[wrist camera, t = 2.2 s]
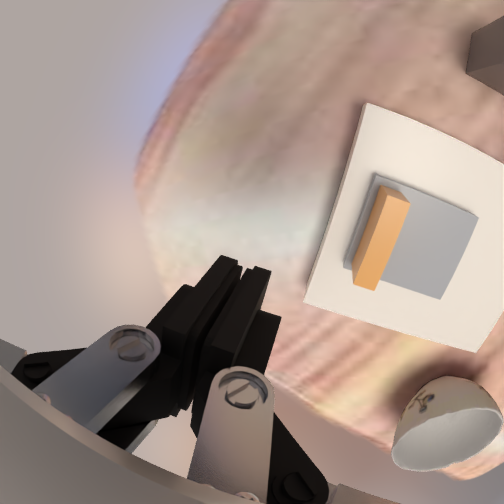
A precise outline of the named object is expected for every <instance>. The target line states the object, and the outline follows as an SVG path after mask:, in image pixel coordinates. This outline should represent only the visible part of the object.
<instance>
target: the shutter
mask: <svg viewBox="0 0 504 504" xmlns="http://www.w3.org/2000/svg"><path fill="white" fill-rule="evenodd" d="M478 219H479V217H477V216H476V215H475V214H473V213H471V212H468V211H466V210H464V209H462V208H460V207H457V206H455V205H453V204H451V203H448V202H446V201H444V200H442V199H439V198H437V197H435V196H432V195H430V194H427V193H425V192H422V191H420V190H418V189H415V188H413V187H410V186H407V185H405V184H402V183H400V182H397V181H394V180H392V179H389V178H386V177H384V176H381V175H378V174H375V175H374V178H373V181H372V184H371V187H370V190H369V193H368V196H367V199H366V202H365V205H364V208H363V211H362V214H361V217H360V219H359V222H358V225H357V228H356V231H355V233H354V236H353V239H352V241H351V244H350V247H349V249H348V252H347V255H346V257H345V260H344V262H343V268H345V269H348V270H351V271H352V278H353V284H354V285H357V286H360V287H363V288H366V289H369V290H372V291H375V289H376V286H377V284H378V282H379V280H382V281H385V282H388V283H391V284H394V285H397V286H400V287H403V288H406V289H409V290H412V291H415V292H418V293H421V294H424V295H427V296H430V297H433V298H436V299H439V300H440V299H441V298H442V296H443V294H444V292H445V290H446V288H447V286H448V284H449V283H450V281H451V279H452V277H453V275H454V273H455V271H456V269H457V267H458V264H459V262H460V260H461V258H462V256H463V254H464V252H465V249H466V247H467V245H468V243H469V240H470V238H471V236H472V234H473V231H474V229H475V226H476V224H477V221H478Z"/></svg>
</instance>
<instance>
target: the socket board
mask: <svg viewBox="0 0 504 504" xmlns="http://www.w3.org/2000/svg"><path fill="white" fill-rule="evenodd" d="M375 174H378V175H381V176H384V177H386V178H389V179H392V180H394V181H397V182H400V183H402V184H405V185H407V186H410V187H413V188H415V189H418V190H420V191H422V192H425V193H427V194H430V195H432V196H435V197H437V198H439V199H442V200H444V201H446V202H448V203H451V204H453V205H455V206H457V207H460V208H462V209H464V210H466V211H468V212H471V213H473V214H475V215H476V216H477V217H479V219H478V221H477V224H476V226H475V229H474V231H473V234H472V236H471V238H470V240H469V243H468V245H467V247H466V249H465V252H464V254H463V256H462V258H461V260H460V262H459V264H458V267H457V269H456V271H455V273H454V275H453V277H452V279H451V281H450V283H449V284H448V286H447V288H446V290H445V292H444V294H443V296H442V298H441V299H440V300H439V299H436V298H433V297H430V296H427V295H424V294H421V293H418V292H415V291H412V290H409V289H406V288H403V287H400V286H397V285H394V284H391V283H388V282H385V281H382V280H379V282H378V284H377V286H376V289H375V291H372V290H369V289H366V288H363V287H360V286H357V285H354V284H353V278H352V271H351V270H348V269H345V268H343V262H344V260H345V257H346V255H347V252H348V249H349V247H350V244H351V241H352V239H353V236H354V233H355V231H356V228H357V225H358V222H359V219H360V217H361V214H362V211H363V208H364V205H365V202H366V199H367V196H368V193H369V190H370V187H371V184H372V181H373V178H374V175H375ZM303 303H306V304H309V305H312V306H315V307H319V308H322V309H325V310H328V311H331V312H335V313H338V314H341V315H344V316H348V317H351V318H354V319H358V320H361V321H364V322H368V323H371V324H374V325H378V326H381V327H384V328H388V329H391V330H395V331H398V332H402V333H405V334H409V335H412V336H416V337H419V338H423V339H426V340H430V341H433V342H437V343H441V344H444V345H448V346H452V347H455V348H459V349H463V350H466V351H470V352H474V353H476V352H477V351H478V349H479V348H480V347H481V345H482V344H483V342H484V341H485V339H486V338H487V336H488V335H489V333H490V332H491V330H492V329H493V327H494V325H495V324H496V322H497V321H498V319H499V317H500V316H501V314H502V312H503V311H504V164H502V163H501V162H499V161H497V160H495V159H494V158H492V157H490V156H488V155H486V154H485V153H483V152H481V151H479V150H477V149H475V148H473V147H471V146H469V145H467V144H466V143H464V142H462V141H459V140H457V139H455V138H453V137H451V136H449V135H447V134H445V133H443V132H441V131H438V130H436V129H434V128H432V127H429V126H427V125H425V124H422V123H420V122H418V121H415V120H413V119H410V118H408V117H405V116H403V115H400V114H398V113H395V112H392V111H390V110H387V109H384V108H381V107H379V106H376V105H373V104H370V103H366V104H364V105H363V107H362V111H361V115H360V119H359V122H358V126H357V129H356V133H355V137H354V140H353V144H352V147H351V151H350V154H349V157H348V161H347V164H346V168H345V171H344V174H343V178H342V181H341V184H340V187H339V190H338V194H337V197H336V200H335V203H334V206H333V209H332V212H331V216H330V219H329V222H328V225H327V228H326V231H325V234H324V237H323V240H322V243H321V245H320V248H319V251H318V254H317V257H316V260H315V263H314V266H313V268H312V271H311V274H310V277H309V280H308V282H307V285H306V290H305V295H304V300H303Z"/></svg>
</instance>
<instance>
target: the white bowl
mask: <svg viewBox="0 0 504 504" xmlns="http://www.w3.org/2000/svg"><path fill="white" fill-rule="evenodd" d="M502 425H503V416H502V414H501V411H500V409H499V407H498V405H497V404H496V402H495V401H494V399H493V398H492V397H491V395H490V394H489V393H488V392H487V391H486V390H485V389H484V388H483V387H481V386H480V385H478V384H477V383H475V382H473V381H470V380H468V379H464V378H458V377H454V376H443V377H439V378H437V379H434V380H432V381H430V382H428V383H427V384H426V385H425V386H424V387H422V388H421V389H420V390H419V391H418V393H417V394H416V395H415V396H414V397H413V398H412V400H411V401H410V402H409V403H408V405H407V406H406V408H405V410H404V411H403V413H402V415H401V417H400V420H399V422H398V425H397V428H396V432H395V436H394V441H393V446H392V451H391V455H392V459H393V461H394V463H395V464H396V465H397V466H399V467H401V468H403V469H407V470H413V471H418V472H419V471H432V470H438V469H442V468H446V467H448V466H449V465H451V464H453V463H459V462H463V461H465V460H468V459H469V458H471V457H473V456H475V455H477V454H478V453H480V452H481V451H482V450H483V449H484V448H485V447H486V446H487V445H489V444H490V443H491V442H492V441H493V439H494V438H495V437H496V436H497V435H498V434H499V433H500V431H501V427H502Z"/></svg>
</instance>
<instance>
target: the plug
mask: <svg viewBox="0 0 504 504" xmlns="http://www.w3.org/2000/svg"><path fill="white" fill-rule="evenodd" d="M466 74H467V75H469V76H471V77H473V78H475V79H477V80H479V81H480V82H482V83H484V84H486V85H487V86H489V87H491V88H492V89H494V90H496V91H497V92H499V93H501V94H502V95H504V16H503V17H501V18H499V19H497V20H495V21H494V22H492V23H490V24H488V25H486V26H485V27H483V28H481V29H479V30H478V31H476V32H474V33H472V37H471V44H470V51H469V57H468V63H467V68H466Z"/></svg>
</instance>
